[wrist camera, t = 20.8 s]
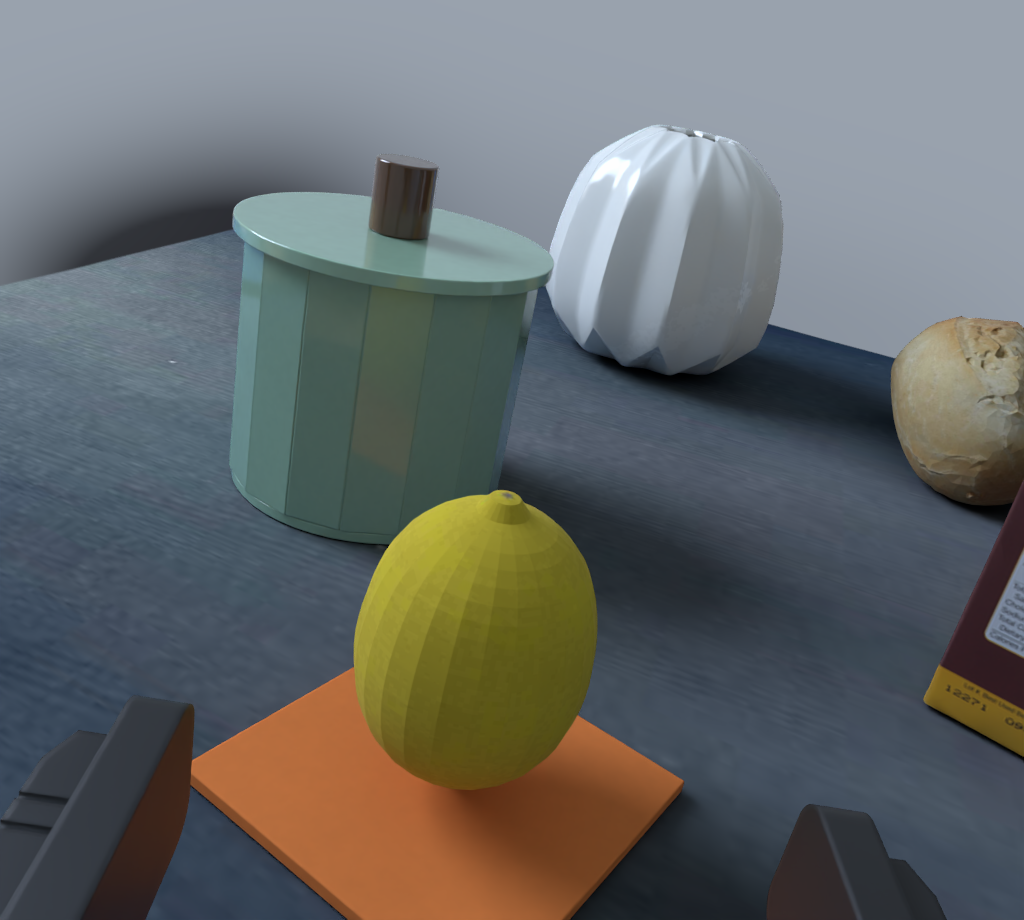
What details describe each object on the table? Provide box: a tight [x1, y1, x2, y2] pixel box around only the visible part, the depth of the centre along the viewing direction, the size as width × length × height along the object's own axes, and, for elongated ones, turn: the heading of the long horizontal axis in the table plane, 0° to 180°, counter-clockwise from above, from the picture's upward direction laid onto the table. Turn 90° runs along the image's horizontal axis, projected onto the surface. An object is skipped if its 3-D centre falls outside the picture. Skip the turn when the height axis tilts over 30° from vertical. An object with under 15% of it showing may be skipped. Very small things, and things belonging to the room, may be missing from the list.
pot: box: [229, 242, 538, 544], centre depth 37 cm, size 10×10×9 cm
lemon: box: [354, 490, 597, 790], centre depth 22 cm, size 6×6×8 cm
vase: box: [546, 125, 783, 375], centre depth 58 cm, size 14×14×13 cm
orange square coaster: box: [190, 667, 684, 920], centre depth 24 cm, size 9×9×1 cm
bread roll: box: [891, 316, 1024, 506], centre depth 51 cm, size 10×15×8 cm, turn 164°
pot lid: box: [232, 154, 554, 296], centre depth 34 cm, size 11×11×4 cm
